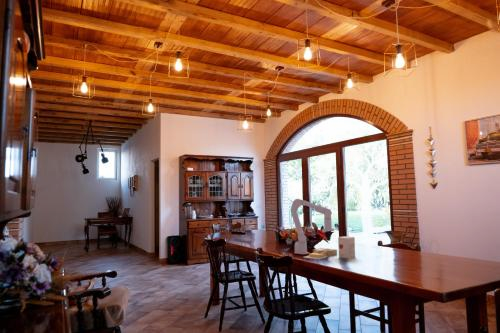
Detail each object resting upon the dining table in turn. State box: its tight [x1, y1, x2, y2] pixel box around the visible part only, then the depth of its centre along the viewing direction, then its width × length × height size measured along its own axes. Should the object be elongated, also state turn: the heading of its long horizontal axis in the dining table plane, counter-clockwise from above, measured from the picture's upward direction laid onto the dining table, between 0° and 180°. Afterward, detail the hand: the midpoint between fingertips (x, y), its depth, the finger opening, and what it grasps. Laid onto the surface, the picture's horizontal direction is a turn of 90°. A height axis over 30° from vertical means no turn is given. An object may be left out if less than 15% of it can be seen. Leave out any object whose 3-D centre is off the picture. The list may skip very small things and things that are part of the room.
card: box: [308, 252, 324, 258], centre depth 269 cm, size 9×6×2 cm, turn 46°
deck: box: [312, 247, 338, 258], centre depth 278 cm, size 14×12×4 cm
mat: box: [303, 255, 329, 260], centre depth 268 cm, size 14×13×1 cm
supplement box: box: [337, 236, 356, 260], centre depth 265 cm, size 9×9×15 cm
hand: (328, 240), depth 286 cm, fingers closed
